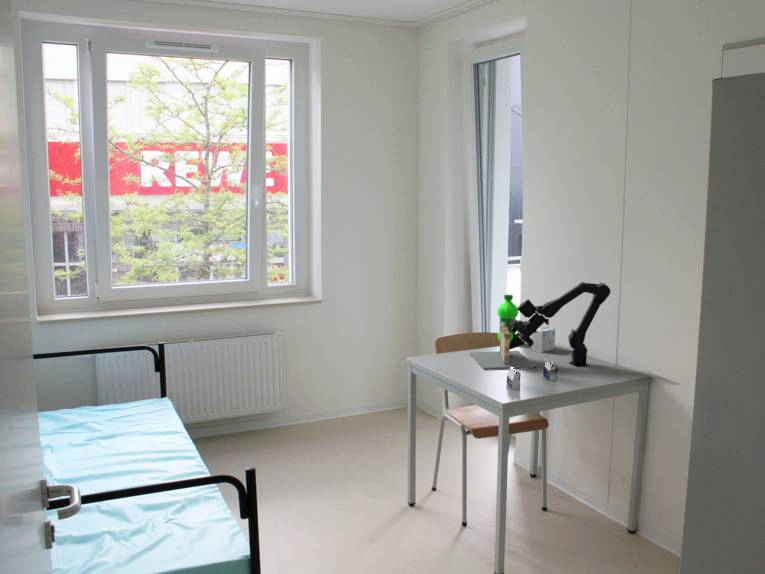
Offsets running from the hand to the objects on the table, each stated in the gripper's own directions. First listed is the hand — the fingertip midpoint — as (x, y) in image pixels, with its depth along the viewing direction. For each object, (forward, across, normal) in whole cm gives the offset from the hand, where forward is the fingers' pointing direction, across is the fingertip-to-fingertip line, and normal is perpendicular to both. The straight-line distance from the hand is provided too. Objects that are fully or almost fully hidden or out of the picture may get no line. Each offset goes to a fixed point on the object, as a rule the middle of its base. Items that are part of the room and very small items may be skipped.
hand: (508, 348), depth 312 cm
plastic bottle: (-2, -35, +12) cm, 37 cm away
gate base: (+6, -4, +4) cm, 8 cm away
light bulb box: (-12, -21, +22) cm, 33 cm away
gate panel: (+4, -3, +3) cm, 6 cm away
